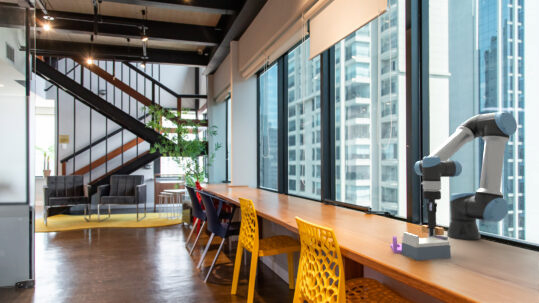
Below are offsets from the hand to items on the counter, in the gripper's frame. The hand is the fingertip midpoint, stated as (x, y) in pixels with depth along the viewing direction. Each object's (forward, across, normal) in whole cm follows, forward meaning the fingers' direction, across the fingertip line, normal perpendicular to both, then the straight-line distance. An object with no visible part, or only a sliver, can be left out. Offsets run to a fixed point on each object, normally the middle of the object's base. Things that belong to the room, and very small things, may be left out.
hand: (432, 241), depth 159 cm
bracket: (+4, +8, -13) cm, 16 cm away
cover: (-2, +14, -1) cm, 14 cm away
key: (+3, +1, +1) cm, 3 cm away
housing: (+3, +10, -2) cm, 10 cm away
